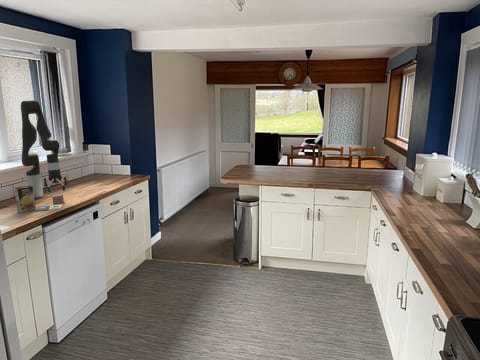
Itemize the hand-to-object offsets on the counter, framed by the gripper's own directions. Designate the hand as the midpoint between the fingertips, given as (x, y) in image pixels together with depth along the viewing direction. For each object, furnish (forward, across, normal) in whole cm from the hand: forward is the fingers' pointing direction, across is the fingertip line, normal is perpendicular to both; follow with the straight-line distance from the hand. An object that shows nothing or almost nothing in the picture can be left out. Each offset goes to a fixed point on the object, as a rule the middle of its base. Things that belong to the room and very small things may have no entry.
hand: (57, 191), depth 250 cm
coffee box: (+9, +18, +12) cm, 23 cm away
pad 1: (+9, +8, +12) cm, 17 cm away
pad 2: (+9, 0, +12) cm, 15 cm away
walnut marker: (+9, 0, 0) cm, 9 cm away
